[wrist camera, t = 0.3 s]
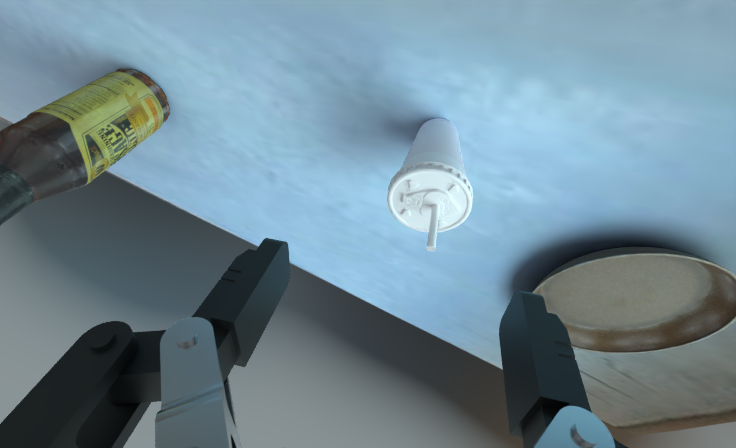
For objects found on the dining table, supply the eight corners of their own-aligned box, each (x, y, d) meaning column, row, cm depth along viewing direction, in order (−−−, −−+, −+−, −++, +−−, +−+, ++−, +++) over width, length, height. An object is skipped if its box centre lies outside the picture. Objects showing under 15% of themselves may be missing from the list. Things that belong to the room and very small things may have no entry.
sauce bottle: (168, 133, 40) (7, 272, 26) (112, 99, 38) (-92, 228, 24) (179, 88, 35) (-8, 228, 21) (116, 48, 33) (-131, 171, 20)
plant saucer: (642, 347, 50) (650, 370, 47) (498, 310, 50) (499, 331, 48) (788, 259, 35) (811, 286, 32) (579, 209, 36) (587, 232, 33)
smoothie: (461, 170, 35) (457, 284, 25) (398, 157, 35) (370, 265, 26) (482, 111, 30) (487, 223, 21) (409, 97, 31) (381, 201, 21)
